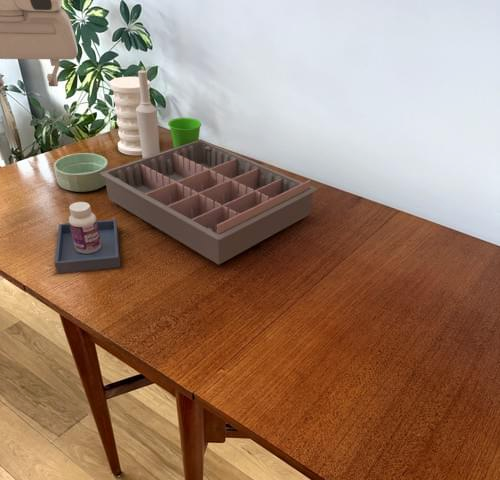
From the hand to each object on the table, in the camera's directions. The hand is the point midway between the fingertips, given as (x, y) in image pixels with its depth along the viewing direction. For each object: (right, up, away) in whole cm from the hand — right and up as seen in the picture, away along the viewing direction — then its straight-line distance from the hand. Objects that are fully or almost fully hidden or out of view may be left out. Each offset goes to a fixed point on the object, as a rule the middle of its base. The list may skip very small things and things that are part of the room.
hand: (26, 85), depth 86 cm
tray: (+7, -28, +13) cm, 32 cm away
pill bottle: (+7, -28, +13) cm, 31 cm away
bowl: (-2, -6, +36) cm, 37 cm away
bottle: (+15, -2, +42) cm, 44 cm away
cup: (+23, +3, +47) cm, 53 cm away
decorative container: (+8, +10, +54) cm, 55 cm away
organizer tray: (+31, -16, +27) cm, 45 cm away
